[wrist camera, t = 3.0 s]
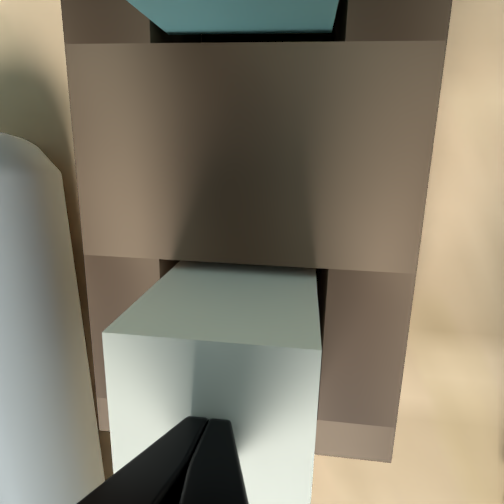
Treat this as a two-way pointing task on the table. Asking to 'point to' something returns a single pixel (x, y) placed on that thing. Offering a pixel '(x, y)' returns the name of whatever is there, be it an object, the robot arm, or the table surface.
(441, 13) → the walnut block
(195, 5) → the peg teal
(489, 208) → the table surface
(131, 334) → the peg cream
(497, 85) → the table surface
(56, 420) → the tube
